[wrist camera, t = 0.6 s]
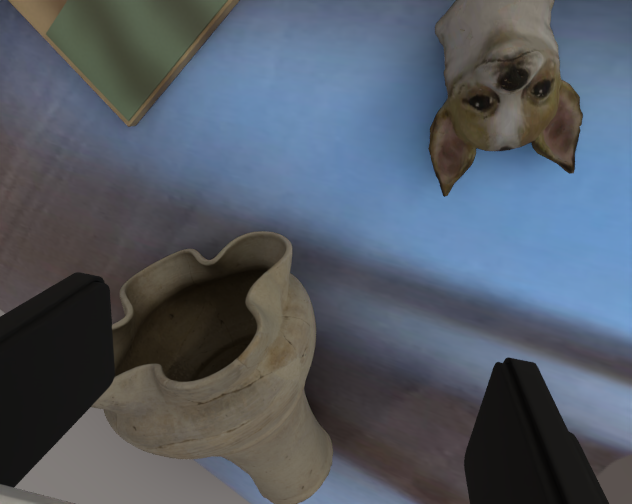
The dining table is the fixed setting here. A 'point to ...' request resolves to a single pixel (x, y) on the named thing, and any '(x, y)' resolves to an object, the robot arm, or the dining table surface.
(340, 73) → the dining table surface
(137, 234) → the dining table surface
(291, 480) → the vase
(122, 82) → the desk board
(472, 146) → the ceramic sculpture
